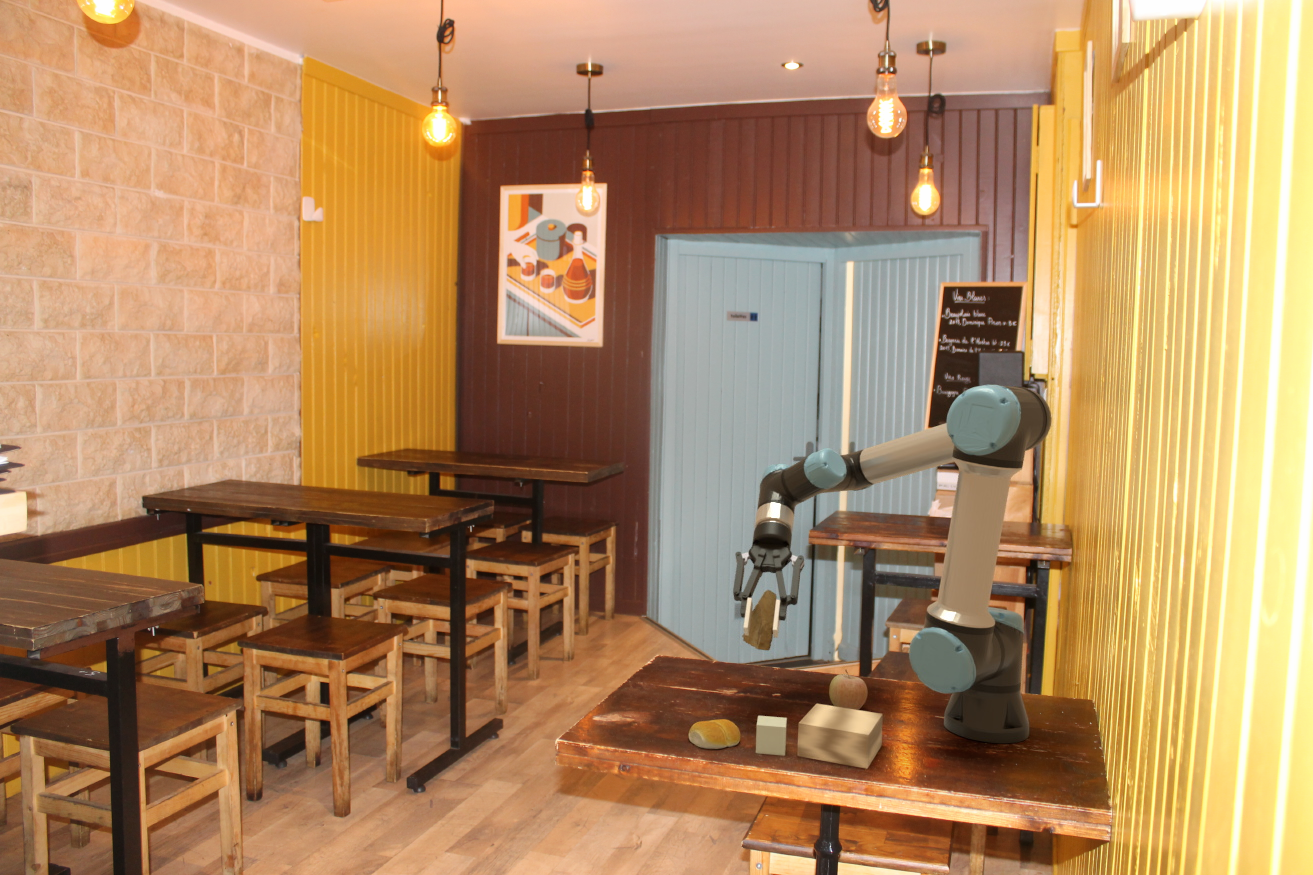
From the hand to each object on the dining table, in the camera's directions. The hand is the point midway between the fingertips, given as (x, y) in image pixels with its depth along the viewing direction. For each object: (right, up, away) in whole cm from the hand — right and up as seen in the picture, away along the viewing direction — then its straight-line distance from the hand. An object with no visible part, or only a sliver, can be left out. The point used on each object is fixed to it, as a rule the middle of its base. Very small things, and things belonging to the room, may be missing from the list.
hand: (760, 632), depth 177 cm
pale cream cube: (+1, -19, -8) cm, 21 cm away
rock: (0, -3, +4) cm, 5 cm away
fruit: (+19, -18, +14) cm, 30 cm away
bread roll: (-9, -19, -5) cm, 21 cm away
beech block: (+13, -19, -8) cm, 25 cm away
